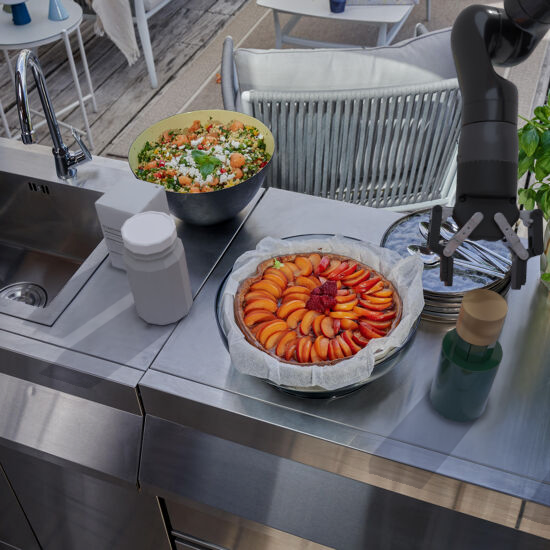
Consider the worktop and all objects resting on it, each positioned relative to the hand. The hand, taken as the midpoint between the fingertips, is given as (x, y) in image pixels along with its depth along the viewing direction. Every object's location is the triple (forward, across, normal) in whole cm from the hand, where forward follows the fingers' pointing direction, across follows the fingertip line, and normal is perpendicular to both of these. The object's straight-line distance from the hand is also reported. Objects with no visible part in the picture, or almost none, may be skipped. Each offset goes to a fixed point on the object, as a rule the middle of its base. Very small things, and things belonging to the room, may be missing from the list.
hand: (482, 288), depth 82 cm
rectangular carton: (-3, -54, +32) cm, 63 cm away
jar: (+6, -48, +24) cm, 53 cm away
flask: (+17, 0, +13) cm, 21 cm away
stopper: (+8, 0, +4) cm, 9 cm away
